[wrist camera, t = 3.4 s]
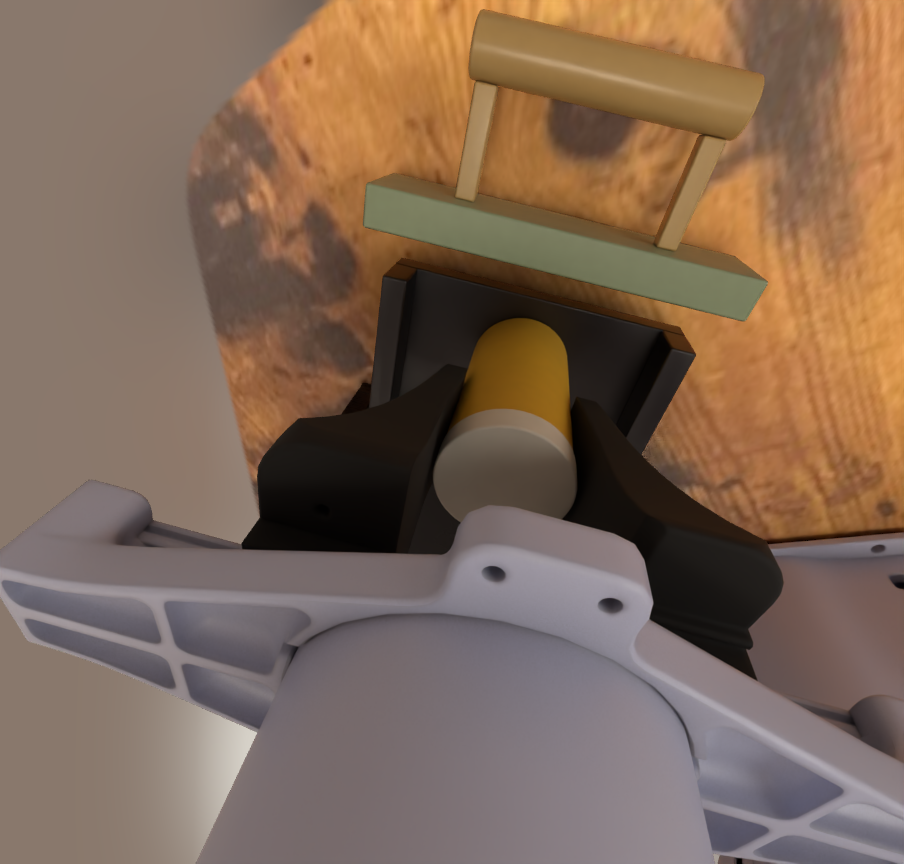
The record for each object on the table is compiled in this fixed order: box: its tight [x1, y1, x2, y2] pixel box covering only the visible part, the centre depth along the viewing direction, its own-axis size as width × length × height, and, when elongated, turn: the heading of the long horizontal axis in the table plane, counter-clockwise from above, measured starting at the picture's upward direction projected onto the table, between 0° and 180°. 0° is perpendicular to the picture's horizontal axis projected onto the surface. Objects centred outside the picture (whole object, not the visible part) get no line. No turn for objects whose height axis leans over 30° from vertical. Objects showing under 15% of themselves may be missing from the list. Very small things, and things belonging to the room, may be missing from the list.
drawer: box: [363, 9, 768, 454], centre depth 16 cm, size 17×11×3 cm
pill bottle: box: [433, 318, 577, 522], centre depth 14 cm, size 4×4×7 cm
